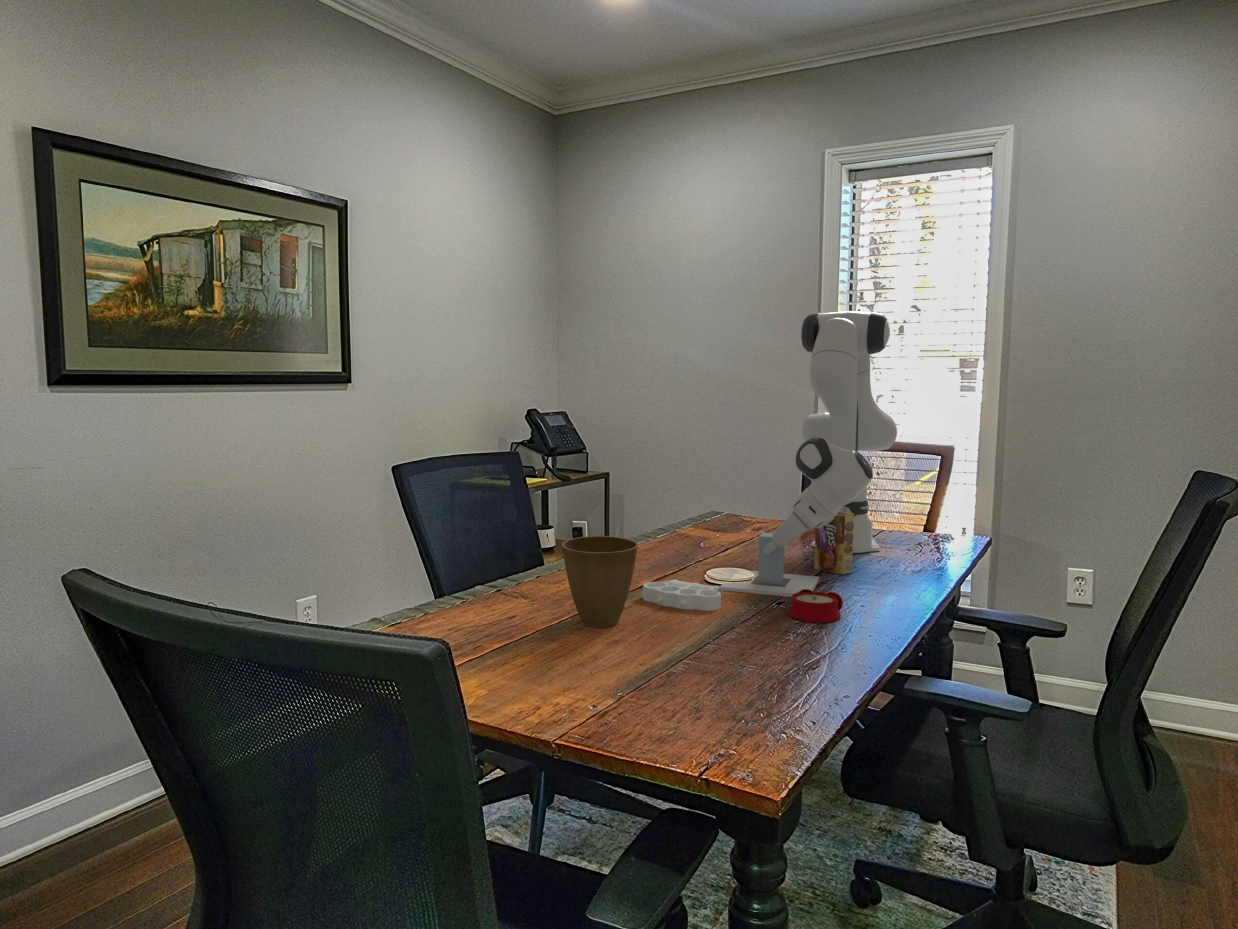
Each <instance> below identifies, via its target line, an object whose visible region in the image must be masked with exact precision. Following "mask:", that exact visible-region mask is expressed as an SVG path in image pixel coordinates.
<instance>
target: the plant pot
mask: <svg viewBox="0 0 1238 929" xmlns="http://www.w3.org/2000/svg"><path fill="white" fill-rule="evenodd" d="M638 547H639V544H638V542H637V541H635V540H632V539H630V538H626V537H618V536H609V535H592V536H591V535H590V536H588V535H587V536H580V537H575V538H570V539H567V540H565V541H563V542H562V544H561V548H562V553H563V561H564V565H565V571H566V576H567V580H568V581H567V582H568V585H569V590H570V592H571V596H572V599H573V603H574V606H575V609H576V612H577V614H578V617H579V620H580V622H581V624H582V625H585V626H587V627H589V628H609V627H614V626H615V625H617V624H618V623H619V621H620V618H621V616H622V614H623V611H624V608H625V605H626V602H627V599H628V594H629V592H630V588H631V584H632V580H633V576H634V571H635V567H636V561H637V553H638Z"/></svg>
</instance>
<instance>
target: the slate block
mask: <svg viewBox="0 0 1238 929" xmlns="http://www.w3.org/2000/svg"><path fill="white" fill-rule="evenodd" d="M773 533H774V532H762V533H761V534H760V535H758V536H759V537H758V567H757V568H758V570H757V571H758V583H768V584H779V585H780V583H781V582H782V581H783V576H784V574H785V573H784V571H785V570H784V569H785V568H784V567H785V547H783V548H781V547H780V546H779V547H777V548H776V549H774V550H773V551H772V552H771V553H770V554H768V555H766V554H765V553H764V552H763V548H764V547H765V546H766V545H767V544H768V543H769V542H770V541H771V540H772V535H773Z"/></svg>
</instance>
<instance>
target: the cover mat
mask: <svg viewBox="0 0 1238 929" xmlns="http://www.w3.org/2000/svg"><path fill="white" fill-rule="evenodd" d="M746 571H749V572H751V573H753V574H754V578H753V580H752V581H750V582H746V583H724V582H723V583H722V584H721V585H719V587H721V588H722V589H723V591H726V592H736V593H745V594H756V595H757V594H758V595H767V596H778V597H788V598H791V597H792V595H793V594H795V593H798V592H799V591H801V590H803V589H809V590H811V591H813V592H814V591H815V590H814V589H815V588H816V586H817V584H819V581H820V576H814V575H804V574H802V575H801V574H794V573H793V574H791V573H784V576H783V581H782V582H781V583H780V585H779V584H768V583H758V570H746Z"/></svg>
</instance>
